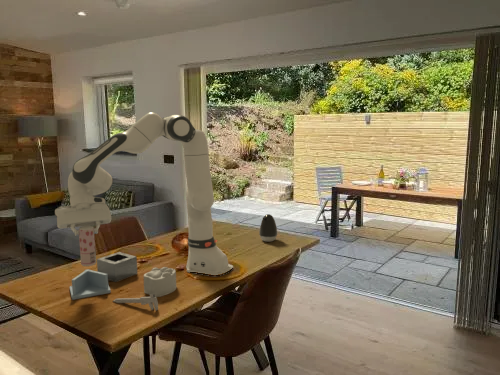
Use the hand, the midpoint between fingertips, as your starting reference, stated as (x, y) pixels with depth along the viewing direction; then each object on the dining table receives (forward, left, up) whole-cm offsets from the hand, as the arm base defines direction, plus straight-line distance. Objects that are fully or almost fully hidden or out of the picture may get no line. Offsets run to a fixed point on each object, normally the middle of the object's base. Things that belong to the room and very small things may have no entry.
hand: (86, 234), depth 167 cm
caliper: (-23, -2, -25) cm, 34 cm away
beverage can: (+1, 0, -13) cm, 13 cm away
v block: (+3, -1, -25) cm, 25 cm away
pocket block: (+8, -19, -25) cm, 32 cm away
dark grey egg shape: (-20, -101, -25) cm, 106 cm away
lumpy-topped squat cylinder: (-21, -19, -25) cm, 37 cm away
